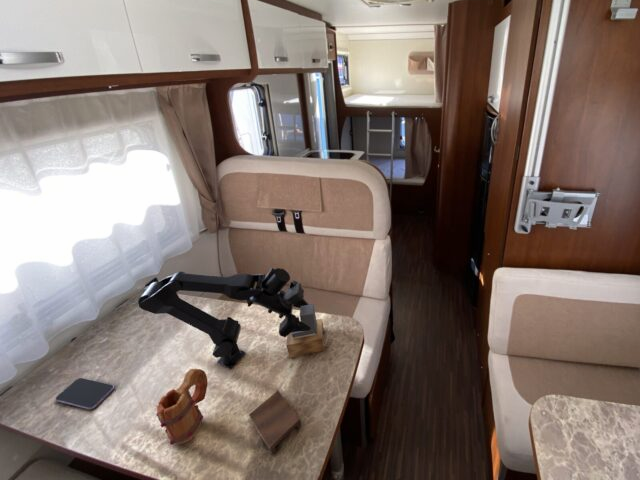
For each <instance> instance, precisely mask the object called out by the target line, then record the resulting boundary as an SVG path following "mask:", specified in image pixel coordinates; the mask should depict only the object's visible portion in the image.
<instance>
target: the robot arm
mask: <svg viewBox="0 0 640 480" xmlns="http://www.w3.org/2000/svg"><path fill="white" fill-rule="evenodd" d="M290 280H291V276H290V274H289V272H288V271H287V270H286V269H284V268H280V267H277V268H274V267H270V269H269V270H268V273H267V274H265V273H257V274H256V273H255V274H250V273H236V274H233V275H230V276H219V275H207V274H197V273H186V272H185V271H177V272H176V273H173V274H172V275H168V276H166V277H164V278H162V279H161V280H158V281H153V282H152V283H150V284H149V285H148V287H147V288H146V289H145V291H144V292H143V293H142V294H141V295H140V297H139V298H138V299H137V300H138V301H137V304H138V307H139V308H140V309H141V310H142V311H145V312H148V313H151V314H153V315H161V314H166V315H170V316H172V317H173V318H176V319H177V320H179V321H181V322H183V323H185V324H187V325H189V326H191V327H193V328H195V329H197V330H198V331H201V332H203V333H204V334H207V335H208V336H209V338H210V340H211V341H212V343H213V344H214V348H213V352H212V356H213V357H214V358H216V359H217V358H218V360H217V361H216V363H217V365H220V366H222V367H223V368H224V367H225V368H226V369H230V370H231V369H234V366H235V365H237V363H238V362H239V361H240V360H241V359H242V358H243V356H244V355H245V354H246V351H244V350H241V349H240V347H239V345H238V340H239V338H240V334H241V330H242V325H241V324H240V323H239V320H236V319H233V317H231V316H227V317H226V318H222V319H219V318H217V317H215V316H213V315H212V314H210V313H208V312H206V311H204V310H202V309H200V308H199V307H196V306H195V305H193V304H191V303H190V302H188V301H185V300H184V299H182V298H180V296H179V295H178V292H179V291H183V292H197V293H210V294H221V295H224V296H226V297H227V298H229V299H230V300H231V299H232V300H235V301H243V302H244V301H246V304H247V308H250V307H251V306H252V305H253V304H257V305H258V306H261V307H263V308H264V309H267V313H269V314H272V313H273V312H274V313H276V314H278V318H279V319H282V318H283V317H284V318H283V319H282V321H281V322H280V323H279V328H278V336H281V337H283V338H287V335H289V334H290V333H292V332H299V331H309V330H310V329H311V327H309V326H308V325H306V324H304V323H303V322H301V320H300V316H296V315H295V314H293V309H294V308H298V309H300V306H304V305H310V304H309V303H308V302H307V301H306V300H305V298H304V297H305V295H304V294H305V290H304V289H303V287H302V284H301V283H300V282H298V281H296V280H291V281H290ZM289 281H290V282H289ZM288 283H289V287H288V288H287V289H286V290H285V291H284V290H283V288H284V287H286V285H287V284H288ZM293 307H294V308H293Z"/></svg>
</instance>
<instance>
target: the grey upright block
mask: <svg viewBox="0 0 640 480" xmlns="http://www.w3.org/2000/svg"><path fill="white" fill-rule="evenodd" d="M299 309H300V310H299V320H300V321H301V322H303V323H304V324H306V325H308V326H309V327H311V329H310V330H309V331H299V332H292V337H293V339H296V338H301V337H307V336H312V335H315V334H317V321H316V319H317V316H316V311H315V305H314V303H310V304H309V305H304V306H300V308H299Z"/></svg>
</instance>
